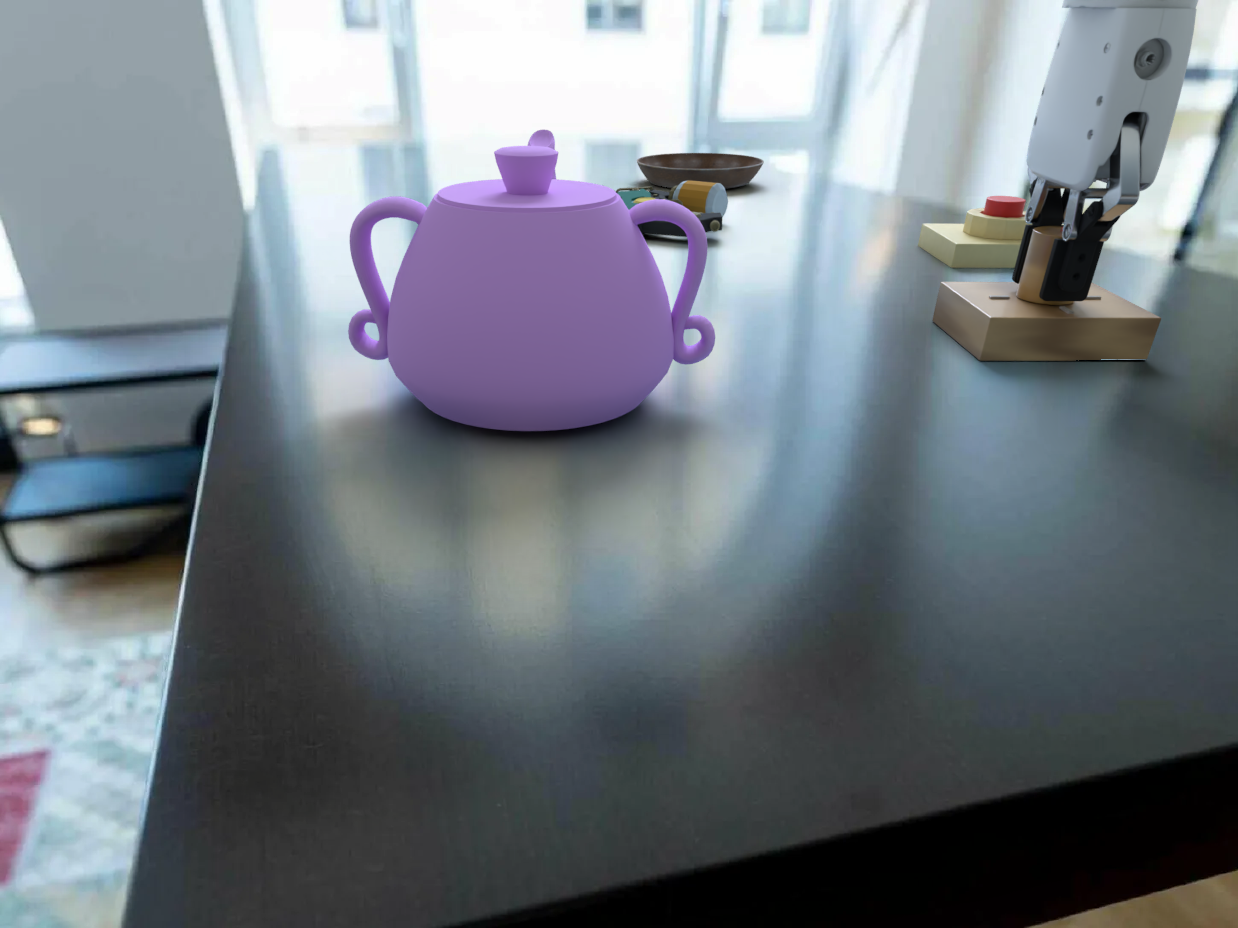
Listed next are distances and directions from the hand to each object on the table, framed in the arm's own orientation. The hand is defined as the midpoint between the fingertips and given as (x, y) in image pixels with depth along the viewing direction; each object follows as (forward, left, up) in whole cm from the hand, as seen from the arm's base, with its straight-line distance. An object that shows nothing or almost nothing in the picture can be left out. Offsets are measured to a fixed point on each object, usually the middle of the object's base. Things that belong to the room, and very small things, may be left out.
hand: (1047, 288), depth 66 cm
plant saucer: (+16, -74, -4) cm, 76 cm away
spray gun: (+24, -42, -4) cm, 49 cm away
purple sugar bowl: (+37, +10, -4) cm, 38 cm away
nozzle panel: (0, 0, -4) cm, 4 cm away
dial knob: (0, 0, -1) cm, 1 cm away
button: (-8, -28, 0) cm, 29 cm away
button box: (-8, -28, -4) cm, 29 cm away
